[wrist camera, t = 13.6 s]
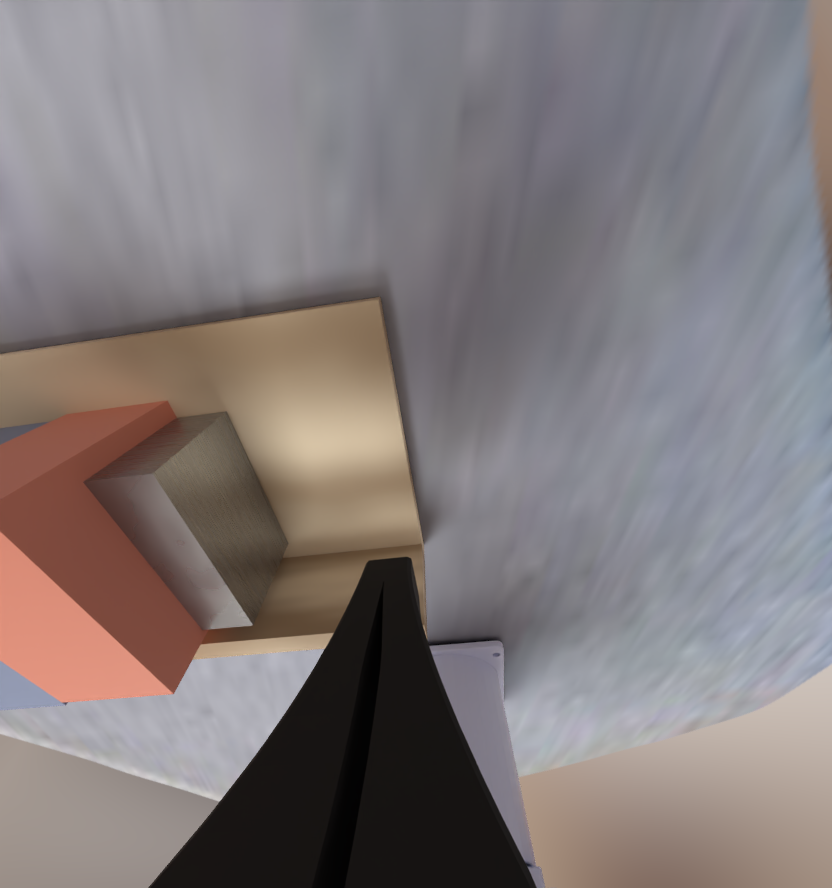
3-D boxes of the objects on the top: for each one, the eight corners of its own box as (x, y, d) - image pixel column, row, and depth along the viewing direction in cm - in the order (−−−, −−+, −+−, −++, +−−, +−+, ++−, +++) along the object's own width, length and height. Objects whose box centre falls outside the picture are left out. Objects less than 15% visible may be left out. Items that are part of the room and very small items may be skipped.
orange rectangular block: (251, 551, 16) (173, 694, 11) (174, 559, 16) (61, 702, 11) (167, 400, 12) (-22, 511, 7) (66, 414, 12) (-189, 531, 7)
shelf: (423, 545, 17) (429, 699, 11) (35, 585, 18) (-143, 741, 12) (380, 296, 11) (342, 344, 5) (-191, 382, 12) (-739, 498, 6)
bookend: (288, 543, 16) (253, 625, 12) (248, 547, 16) (202, 630, 12) (226, 411, 12) (152, 473, 9) (176, 417, 12) (82, 482, 9)
